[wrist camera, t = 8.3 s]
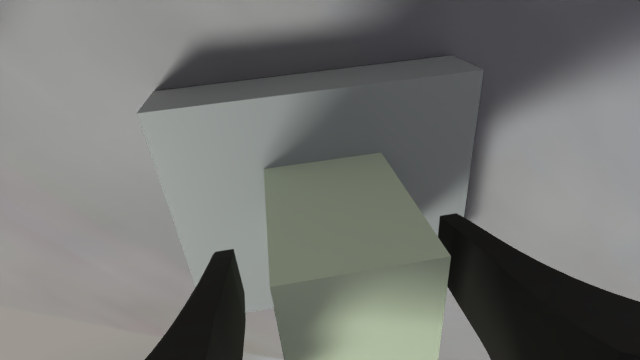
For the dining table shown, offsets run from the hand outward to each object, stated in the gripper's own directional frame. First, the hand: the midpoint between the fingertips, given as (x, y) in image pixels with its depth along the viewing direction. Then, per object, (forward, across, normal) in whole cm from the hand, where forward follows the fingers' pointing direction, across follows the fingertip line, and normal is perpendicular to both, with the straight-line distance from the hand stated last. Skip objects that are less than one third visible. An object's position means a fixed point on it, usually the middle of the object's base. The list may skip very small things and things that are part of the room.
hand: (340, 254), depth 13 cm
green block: (+3, 0, 0) cm, 3 cm away
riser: (+5, 0, 0) cm, 5 cm away
